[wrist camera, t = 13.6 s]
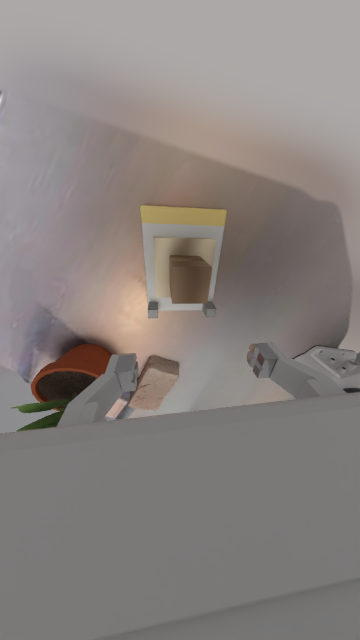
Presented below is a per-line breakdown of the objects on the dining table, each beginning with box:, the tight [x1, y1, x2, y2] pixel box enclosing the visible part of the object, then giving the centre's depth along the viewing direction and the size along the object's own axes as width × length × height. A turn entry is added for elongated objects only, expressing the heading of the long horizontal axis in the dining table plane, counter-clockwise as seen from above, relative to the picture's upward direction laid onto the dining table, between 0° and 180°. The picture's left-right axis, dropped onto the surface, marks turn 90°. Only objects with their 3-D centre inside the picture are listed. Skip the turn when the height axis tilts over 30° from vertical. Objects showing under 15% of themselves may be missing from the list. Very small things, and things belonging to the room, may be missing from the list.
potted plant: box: [13, 344, 112, 432], centre depth 26 cm, size 15×15×30 cm
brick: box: [128, 356, 179, 411], centre depth 43 cm, size 17×8×5 cm, turn 154°
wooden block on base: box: [153, 237, 216, 304], centre depth 23 cm, size 9×9×8 cm
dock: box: [140, 205, 227, 318], centre depth 26 cm, size 12×16×6 cm
